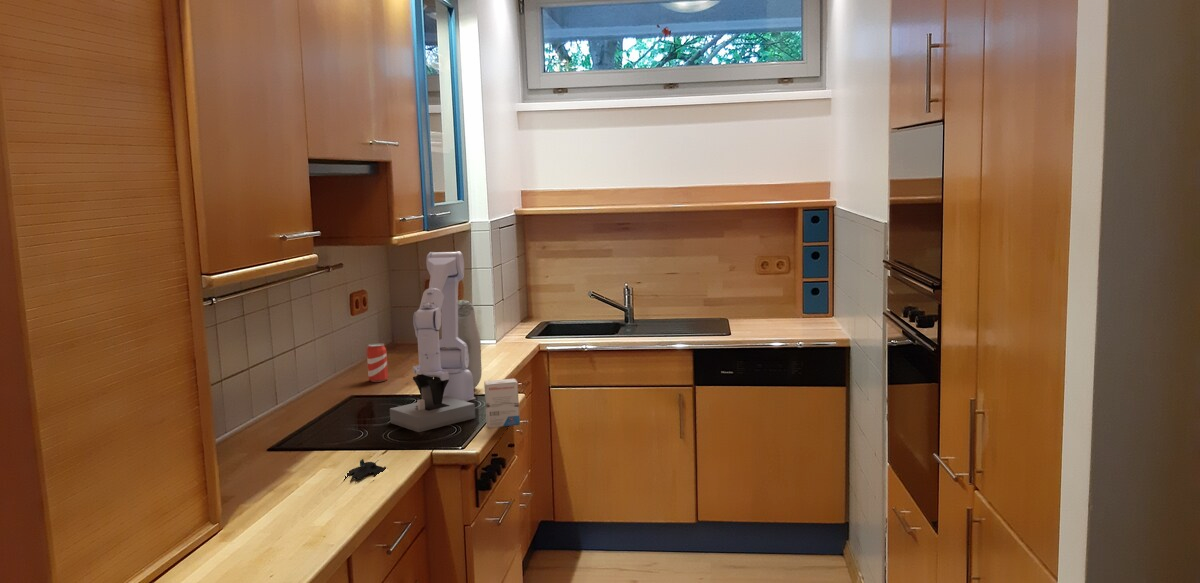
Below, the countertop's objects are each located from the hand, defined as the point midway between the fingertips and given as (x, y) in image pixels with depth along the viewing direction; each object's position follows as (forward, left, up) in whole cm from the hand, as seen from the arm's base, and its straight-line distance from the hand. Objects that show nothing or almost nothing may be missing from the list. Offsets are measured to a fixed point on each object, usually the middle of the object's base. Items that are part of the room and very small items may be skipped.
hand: (432, 402), depth 248 cm
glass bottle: (-27, -23, -5) cm, 36 cm away
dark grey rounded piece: (0, 0, -2) cm, 2 cm away
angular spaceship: (+37, +28, -6) cm, 47 cm away
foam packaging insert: (0, 0, -5) cm, 5 cm away
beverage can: (-16, -57, -5) cm, 59 cm away
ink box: (-10, +18, -5) cm, 21 cm away
